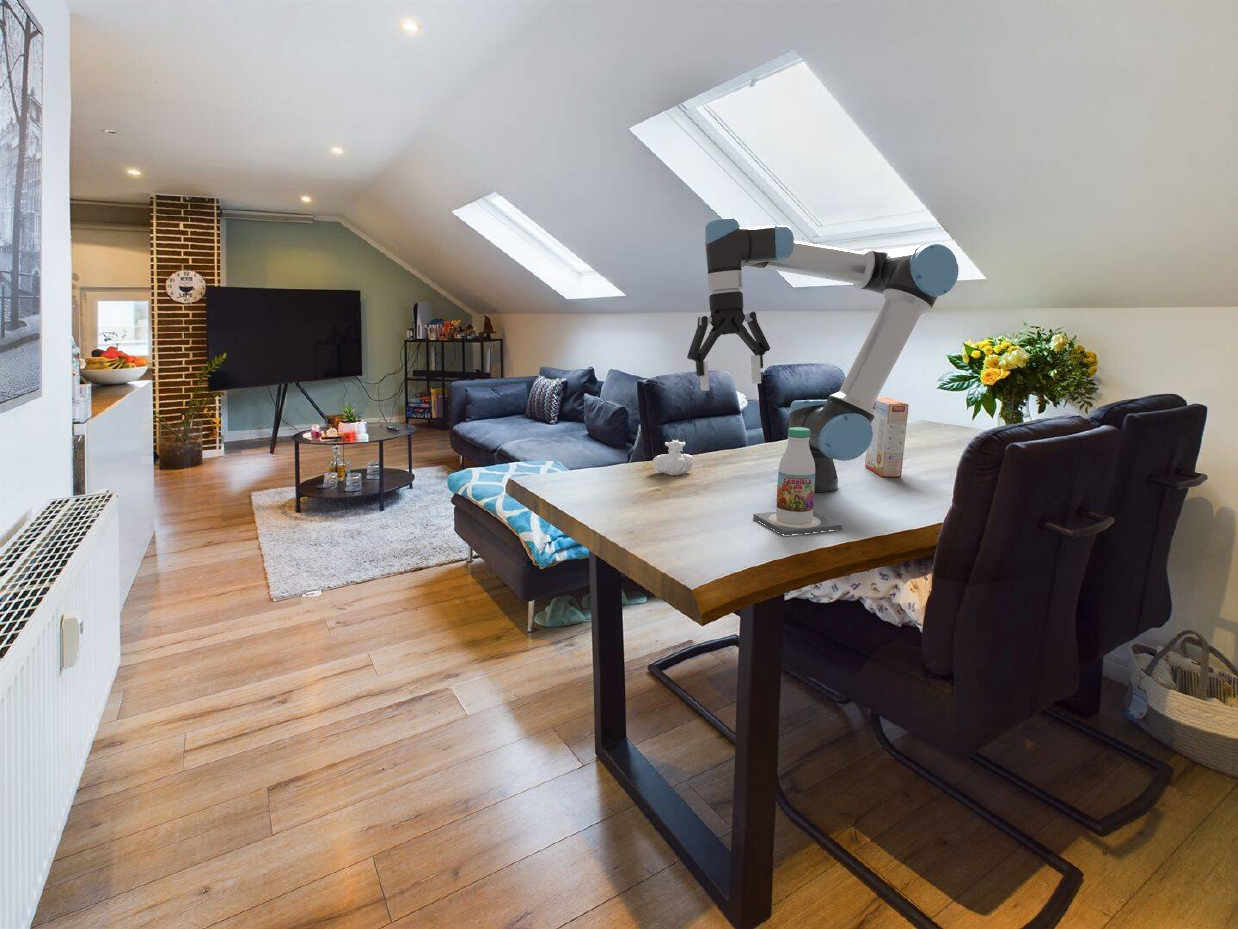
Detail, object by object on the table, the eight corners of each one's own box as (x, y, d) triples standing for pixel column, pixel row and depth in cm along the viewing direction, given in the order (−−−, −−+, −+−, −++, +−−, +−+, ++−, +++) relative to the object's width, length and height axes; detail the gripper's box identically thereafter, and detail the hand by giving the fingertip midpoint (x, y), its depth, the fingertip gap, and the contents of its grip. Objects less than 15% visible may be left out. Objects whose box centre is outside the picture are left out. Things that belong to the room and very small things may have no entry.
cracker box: (902, 477, 190) (910, 403, 185) (881, 477, 190) (887, 403, 185) (884, 466, 204) (890, 397, 199) (864, 466, 204) (870, 397, 199)
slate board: (807, 513, 156) (807, 507, 156) (842, 530, 144) (842, 524, 144) (753, 518, 152) (753, 513, 151) (784, 536, 140) (785, 530, 139)
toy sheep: (653, 482, 193) (656, 456, 184) (650, 461, 198) (654, 436, 189) (694, 481, 194) (700, 456, 185) (691, 461, 199) (696, 435, 190)
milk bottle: (771, 515, 150) (775, 425, 146) (804, 514, 151) (810, 425, 147) (782, 525, 143) (787, 431, 138) (817, 524, 143) (824, 431, 139)
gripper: (764, 289, 159) (768, 380, 164) (668, 297, 151) (675, 392, 155) (782, 286, 153) (786, 381, 157) (683, 294, 144) (690, 393, 148)
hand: (731, 386), depth 156 cm, fingers open, 13 cm apart
